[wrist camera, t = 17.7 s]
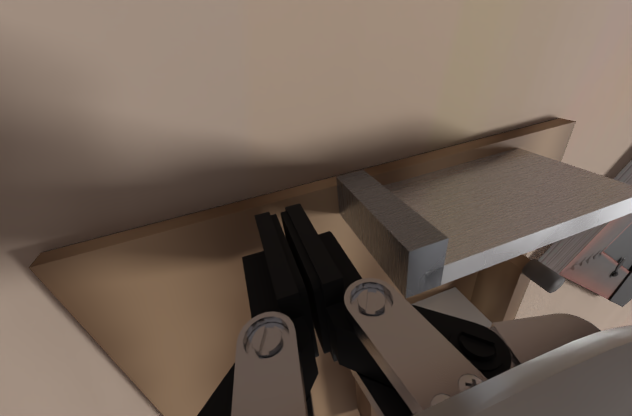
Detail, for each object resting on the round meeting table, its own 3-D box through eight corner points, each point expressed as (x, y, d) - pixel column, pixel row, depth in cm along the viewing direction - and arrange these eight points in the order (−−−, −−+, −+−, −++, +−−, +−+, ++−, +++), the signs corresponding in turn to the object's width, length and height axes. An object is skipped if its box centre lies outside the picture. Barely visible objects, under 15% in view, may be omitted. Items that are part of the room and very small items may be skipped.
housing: (559, 118, 15) (679, 142, 11) (479, 352, 27) (524, 403, 23) (40, 252, 10) (-63, 381, 6) (223, 469, 22) (226, 559, 18)
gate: (523, 127, 13) (665, 164, 9) (514, 162, 14) (638, 210, 10) (336, 176, 11) (409, 251, 7) (339, 213, 12) (405, 298, 8)
